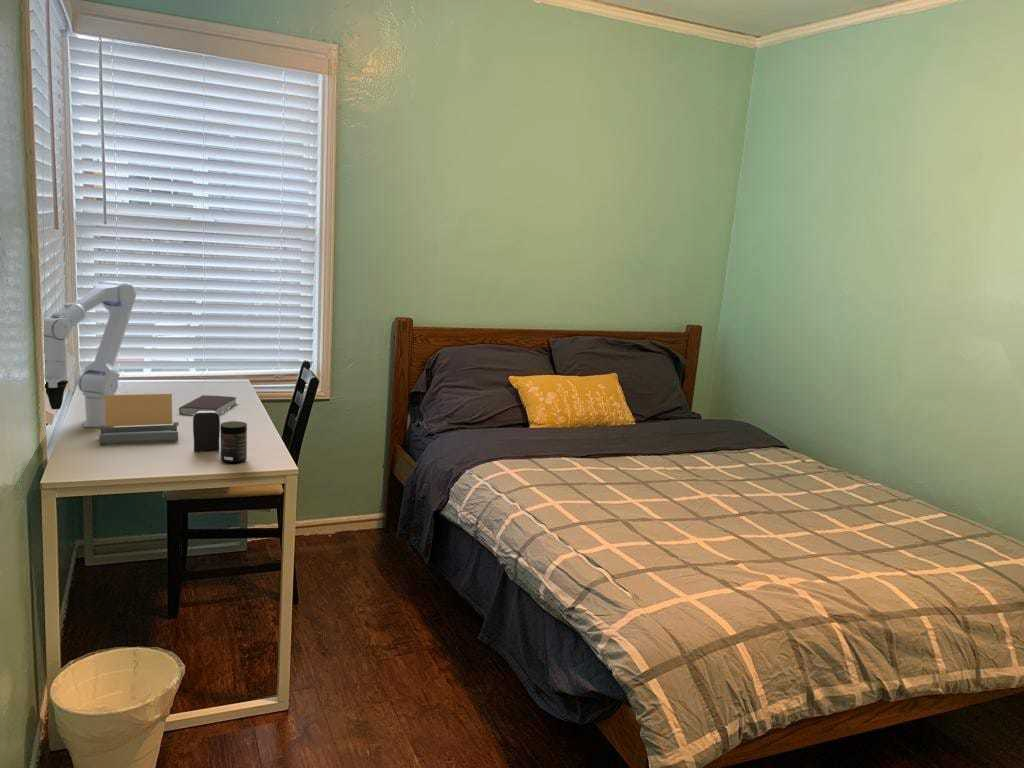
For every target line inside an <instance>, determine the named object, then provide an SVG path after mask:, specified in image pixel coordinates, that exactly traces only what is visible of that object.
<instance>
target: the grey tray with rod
mask: <svg viewBox="0 0 1024 768" xmlns="http://www.w3.org/2000/svg"><path fill="white" fill-rule="evenodd" d="M179 424H180V423H179V421H172V424H159V425H134V426H109V427H105V426H104V425H98V427H97V428H98V430H100V434H99V435H98V437H99V438H98V439H99V440H98V441H99V446H101V447H102V446H120V445H122V444H123V445H142V443H144V444H156V442H164V443H176V442H175V441H178V442H179V431H178V427H179V426H180V425H179ZM140 443H141V444H140Z"/></svg>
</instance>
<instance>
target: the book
mask: <svg viewBox="0 0 1024 768" xmlns="http://www.w3.org/2000/svg"><path fill="white" fill-rule="evenodd" d="M236 399H237V397H235V396H224V395H207V394H206V395H205V394H203V395H200V396H199V397H197V398H195V399H193V400H191V401H190V402H187V403H186V404H183V405H182V406H180V407H179V408H178V410H179V411H178V412H179V415H187V414H195V413H196V412H197V411H217V412H218V414H221V413H222V412H223V411H225V410H226V409H228V408H229V407H231V406H233V405H234V404H236V405H237V400H236ZM234 406H235V405H234ZM234 406H233V407H234ZM231 408H232V407H231ZM229 409H230V408H229ZM229 409H228V410H229ZM226 411H227V410H226ZM226 411H225V412H226ZM222 414H223V413H222ZM222 414H221V415H222Z"/></svg>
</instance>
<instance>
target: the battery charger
mask: <svg viewBox="0 0 1024 768" xmlns="http://www.w3.org/2000/svg"><path fill="white" fill-rule="evenodd" d="M220 418H221V417H220V415H219V414H218V412H217V411H197V412H196V413H195V414H194V415H192V434H193V436H192V437H193V452H196V453H197V452H199V453H205V452H218V451H220V438H221V431H220V430H221V419H220Z"/></svg>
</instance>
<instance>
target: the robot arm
mask: <svg viewBox="0 0 1024 768" xmlns="http://www.w3.org/2000/svg"><path fill="white" fill-rule="evenodd" d="M136 298H137V292H136V291H135V288H134V285H133V284H132V283H130V282H126V281H125V282H124V281H123V282H122V281H121V282H120V281H111V280H106V279H102V280H99V281H98V282H97V283H94V284H93V287H92V289H91V290H90V291H89V292H88V293H86V294H85V295H84V296H83V297H81V299H79V300H78V301H77V302H76V303H75V302H66V303H64V305H63V307H62V308H60V309H59V310H57V311H56V312H55V311H54V312H53V313H52V315H50V316H44V317H43V318H44V354H45V380H44V382H46V384H45V383H44V384H45V388H46V392H45V394H46V396H47V398H48V403H49V405H50V408H51V410H61V407H62V405H63V401H64V400H63V399H64V393H65V389H66V387H67V385H68V382H69V380H68V379H69V376H68V373H67V372H68V370H67V351H66V348H67V347H66V339H67V338H68V337H69V336H70V333H71V331H72V329H73V328H74V327H75V326H77V325H78V324H79V323H80V322H82V321H83V320H84V319H85V318H86V314H87V313H88V312H89V311H91V310H92V309H94V308H96V307H97V306H99V305H100V304H101V305H102V306H103V307H104V308H105V310H107V311H108V312H109V317H108V319H107V322H106V325H105V328H104V331H103V334H102V337H101V341H100V344H99V346H98V349H97V352H96V355H95V358H94V361H93V362H92V363H90V364H89V365H87V366H85V368H84V370H83V372H82V373H81V375H80V376H79V378H78V380H77V386H78V390H80V392H82V395H83V396H84V403H85V404H84V405H85V406H84V407H85V419H84V424H83V427H84V428H95V427H96V428H98V425H104V427H105V395H115V394H116V392H117V390H118V388H119V377H120V374H119V372H118V370H116V368H115V364H116V361H117V357H118V355H119V353H120V349H121V346H122V342H123V341H124V340H123V339H124V338H125V337H124V336H125V334H126V330H127V328H128V324H129V321H130V320H131V319H130V318H131V316H132V309H133V306H134V304H135V301H136Z"/></svg>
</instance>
